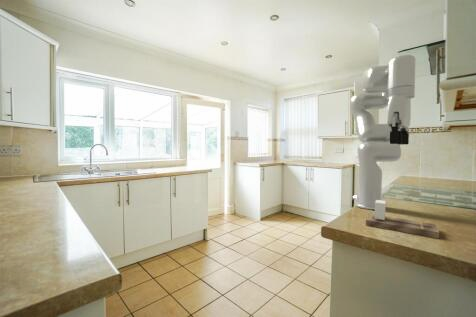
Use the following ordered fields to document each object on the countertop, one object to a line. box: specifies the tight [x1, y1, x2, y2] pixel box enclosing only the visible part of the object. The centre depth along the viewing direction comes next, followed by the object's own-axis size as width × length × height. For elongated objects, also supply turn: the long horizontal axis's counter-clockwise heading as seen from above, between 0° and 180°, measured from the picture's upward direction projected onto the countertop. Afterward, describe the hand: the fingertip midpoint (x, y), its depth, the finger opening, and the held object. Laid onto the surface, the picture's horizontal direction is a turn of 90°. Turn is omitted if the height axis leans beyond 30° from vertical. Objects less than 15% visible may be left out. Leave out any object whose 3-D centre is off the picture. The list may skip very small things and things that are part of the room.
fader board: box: [365, 213, 440, 239], centre depth 79 cm, size 20×9×2 cm, turn 53°
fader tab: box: [374, 199, 387, 220], centre depth 82 cm, size 3×5×6 cm, turn 143°
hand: (399, 144), depth 76 cm, fingers open, 9 cm apart
